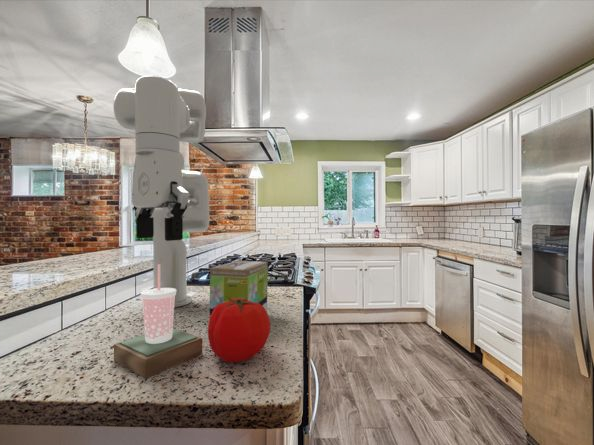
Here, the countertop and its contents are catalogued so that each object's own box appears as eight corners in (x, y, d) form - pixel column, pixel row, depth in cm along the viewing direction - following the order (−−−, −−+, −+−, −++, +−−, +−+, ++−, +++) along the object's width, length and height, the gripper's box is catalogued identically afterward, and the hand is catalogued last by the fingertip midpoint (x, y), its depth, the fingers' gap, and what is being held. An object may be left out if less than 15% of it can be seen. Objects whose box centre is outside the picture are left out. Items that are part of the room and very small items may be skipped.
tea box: (249, 333, 67) (248, 268, 68) (208, 331, 69) (207, 267, 70) (268, 314, 82) (268, 260, 82) (234, 312, 84) (234, 259, 84)
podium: (113, 360, 54) (113, 342, 54) (169, 340, 64) (169, 325, 64) (145, 378, 48) (145, 357, 48) (202, 353, 57) (202, 336, 57)
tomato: (214, 345, 61) (214, 291, 61) (270, 343, 62) (270, 289, 62) (199, 375, 49) (199, 307, 49) (269, 372, 50) (269, 305, 50)
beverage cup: (159, 331, 60) (159, 261, 60) (183, 335, 58) (183, 263, 58) (132, 342, 54) (132, 265, 54) (158, 347, 52) (158, 267, 52)
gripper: (115, 149, 58) (116, 238, 58) (165, 136, 48) (166, 243, 48) (152, 156, 64) (153, 235, 64) (204, 145, 54) (204, 239, 55)
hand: (158, 238), depth 56 cm, fingers open, 9 cm apart
